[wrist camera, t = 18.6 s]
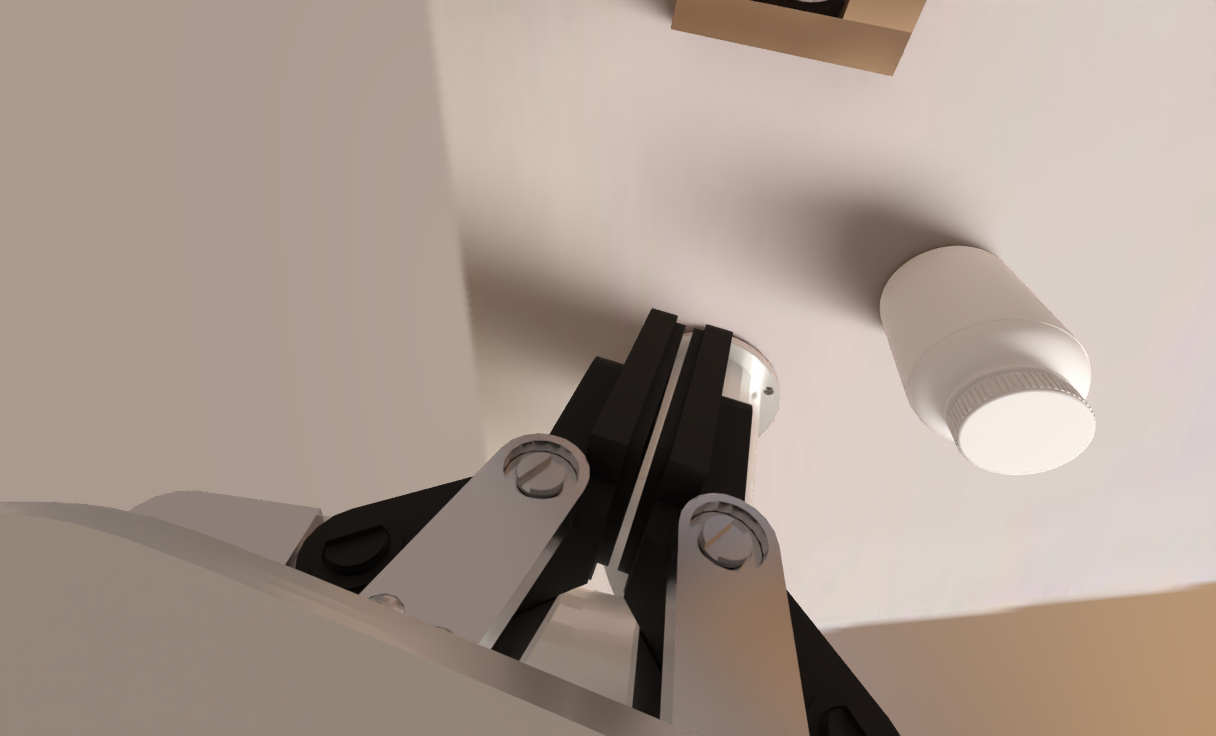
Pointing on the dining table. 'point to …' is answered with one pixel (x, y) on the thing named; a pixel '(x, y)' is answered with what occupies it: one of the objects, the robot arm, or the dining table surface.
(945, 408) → the pill bottle
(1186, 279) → the dining table surface
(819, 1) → the steel pin
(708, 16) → the block
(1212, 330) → the dining table surface
